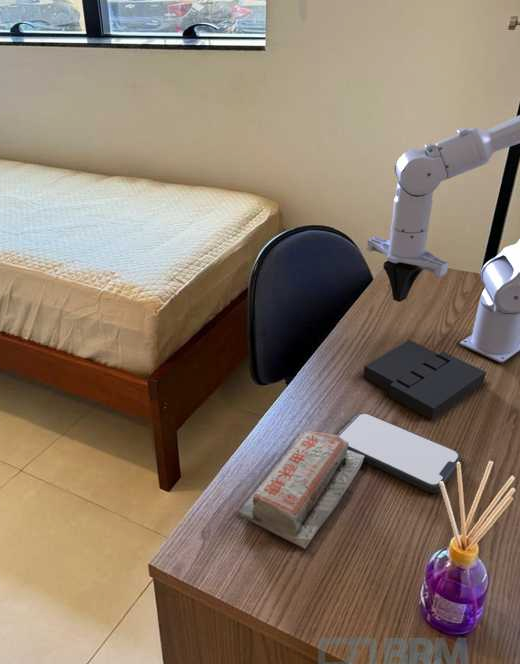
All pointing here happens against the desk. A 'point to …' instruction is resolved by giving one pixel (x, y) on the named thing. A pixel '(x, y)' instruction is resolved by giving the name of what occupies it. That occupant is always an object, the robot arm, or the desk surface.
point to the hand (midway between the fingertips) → (399, 298)
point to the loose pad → (401, 365)
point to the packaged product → (303, 487)
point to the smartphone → (401, 452)
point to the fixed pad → (438, 386)
